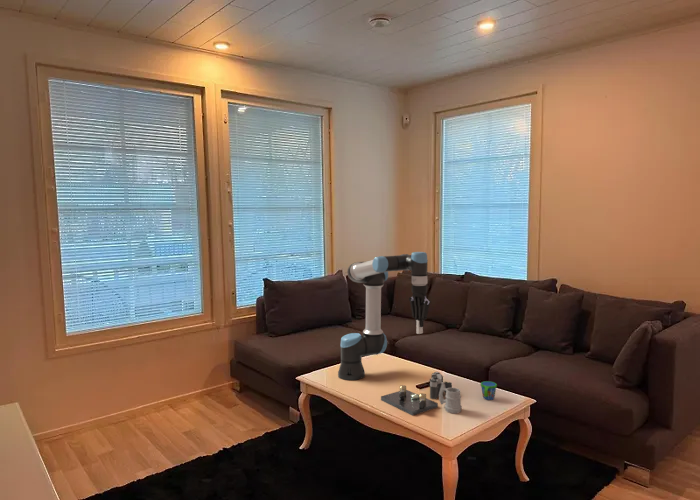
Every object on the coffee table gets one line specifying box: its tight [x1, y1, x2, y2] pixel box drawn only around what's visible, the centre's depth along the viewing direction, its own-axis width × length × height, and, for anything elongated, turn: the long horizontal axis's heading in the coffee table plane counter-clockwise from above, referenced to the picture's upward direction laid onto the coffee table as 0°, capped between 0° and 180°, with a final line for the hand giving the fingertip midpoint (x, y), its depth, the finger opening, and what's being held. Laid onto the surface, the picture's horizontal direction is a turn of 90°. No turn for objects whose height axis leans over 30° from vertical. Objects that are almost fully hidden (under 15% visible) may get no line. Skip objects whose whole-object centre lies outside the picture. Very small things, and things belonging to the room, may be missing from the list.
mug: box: [438, 381, 463, 414], centre depth 234 cm, size 8×12×12 cm, turn 43°
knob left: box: [399, 384, 407, 400], centre depth 245 cm, size 3×10×4 cm, turn 169°
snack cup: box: [480, 380, 498, 401], centre depth 247 cm, size 11×8×7 cm
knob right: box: [418, 393, 427, 409], centre depth 233 cm, size 3×10×4 cm, turn 169°
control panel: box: [380, 389, 439, 416], centre depth 242 cm, size 23×16×4 cm
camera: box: [429, 371, 453, 400], centre depth 253 cm, size 16×10×10 cm, turn 162°
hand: (419, 333), depth 240 cm, fingers closed
